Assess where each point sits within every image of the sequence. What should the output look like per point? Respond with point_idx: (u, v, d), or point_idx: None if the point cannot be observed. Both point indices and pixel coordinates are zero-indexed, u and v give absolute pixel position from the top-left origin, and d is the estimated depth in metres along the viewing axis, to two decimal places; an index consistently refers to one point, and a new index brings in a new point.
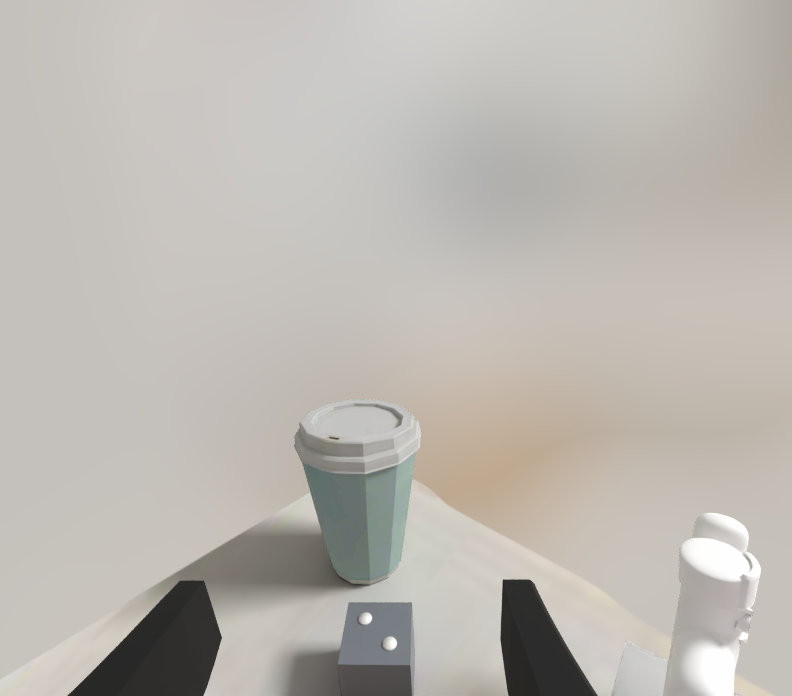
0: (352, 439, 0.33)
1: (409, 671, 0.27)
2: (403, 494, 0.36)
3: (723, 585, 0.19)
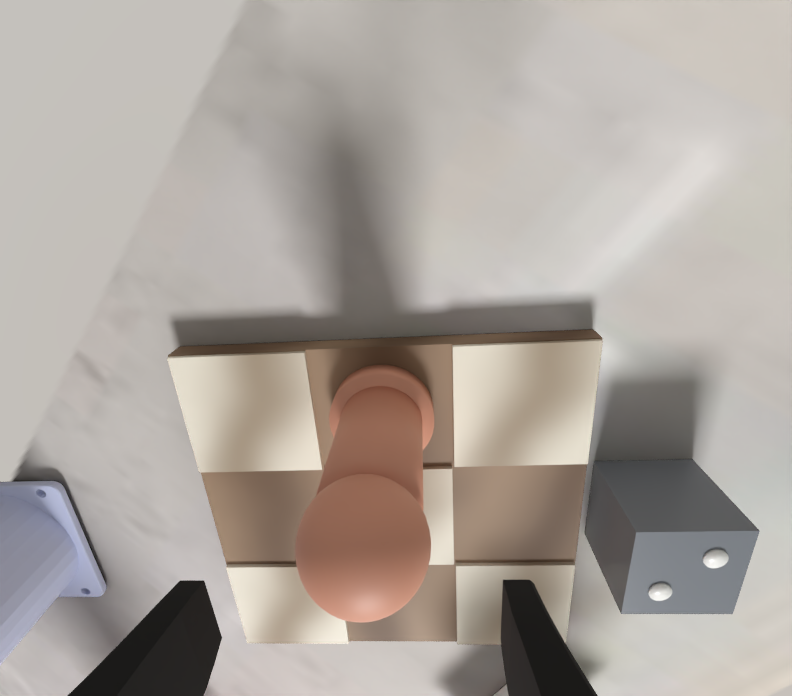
0: None
1: (616, 601, 0.19)
2: None
3: None
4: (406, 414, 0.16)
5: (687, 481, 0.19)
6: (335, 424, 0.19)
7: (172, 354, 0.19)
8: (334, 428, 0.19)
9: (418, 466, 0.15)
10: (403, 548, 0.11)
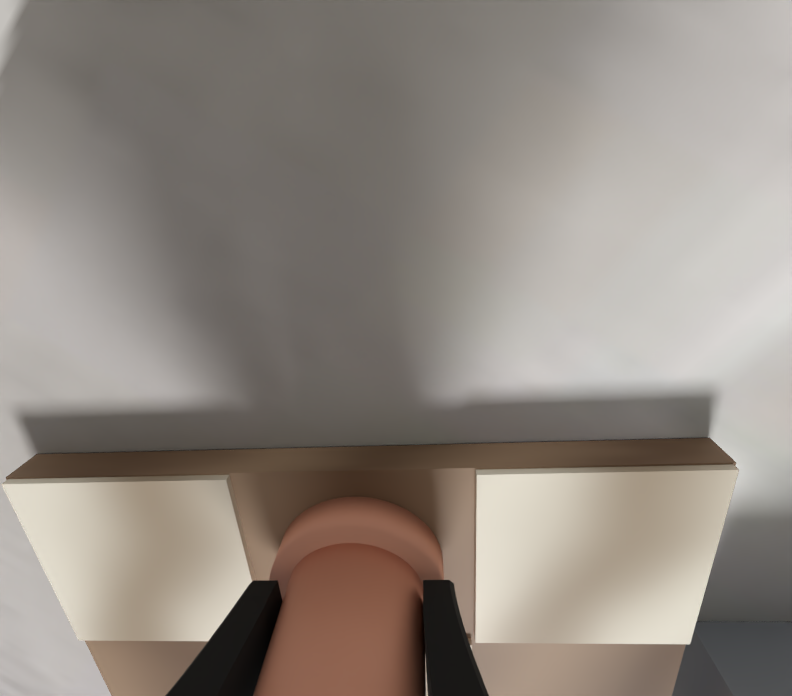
0: None
1: None
2: None
3: None
4: (396, 616, 0.09)
5: None
6: None
7: (14, 475, 0.12)
8: None
9: None
10: None
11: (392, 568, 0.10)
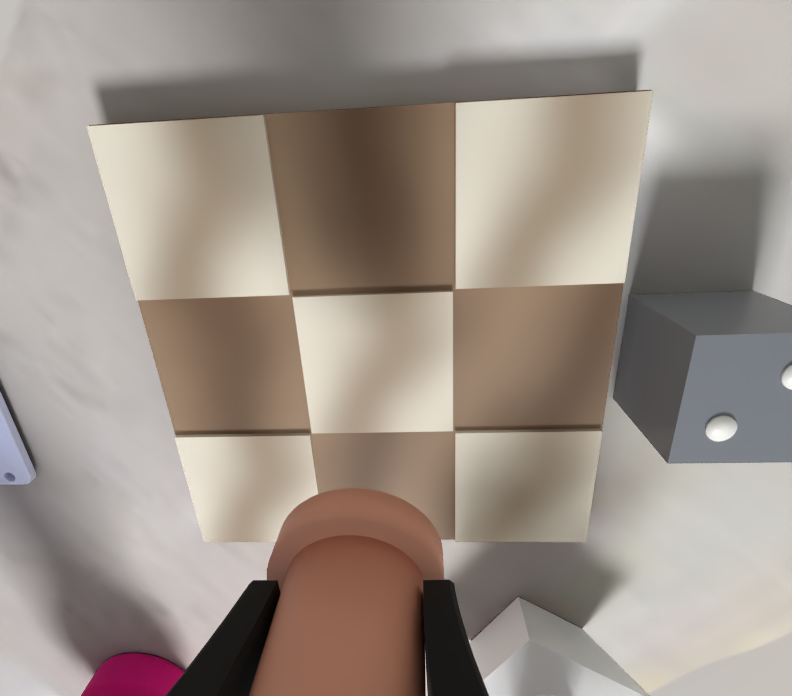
0: None
1: (660, 451, 0.15)
2: None
3: None
4: (395, 609, 0.09)
5: (752, 303, 0.15)
6: None
7: (94, 125, 0.15)
8: None
9: None
10: None
11: (391, 560, 0.10)
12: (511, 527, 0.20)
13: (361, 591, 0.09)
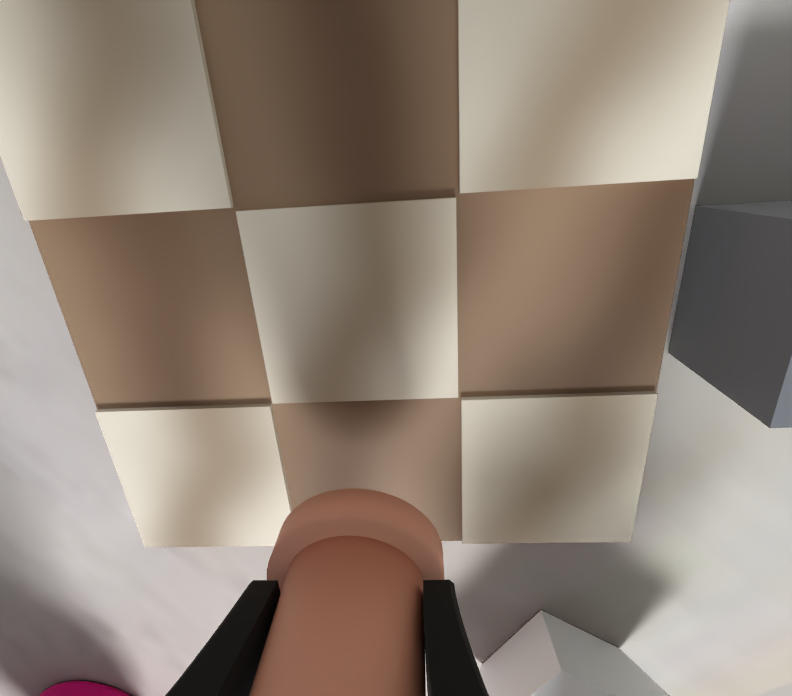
0: None
1: (754, 413, 0.10)
2: None
3: None
4: (395, 610, 0.09)
5: None
6: None
7: None
8: None
9: None
10: None
11: (391, 561, 0.10)
12: (534, 524, 0.15)
13: (361, 592, 0.09)
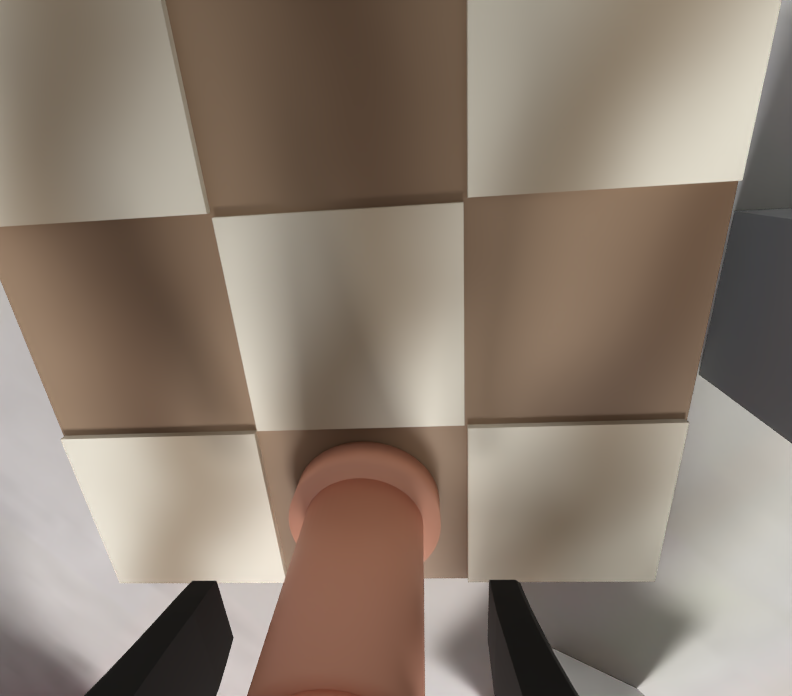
0: None
1: None
2: None
3: None
4: (399, 533, 0.11)
5: None
6: (298, 527, 0.13)
7: None
8: (296, 532, 0.13)
9: (416, 645, 0.09)
10: None
11: (395, 498, 0.12)
12: (548, 562, 0.14)
13: (371, 517, 0.11)
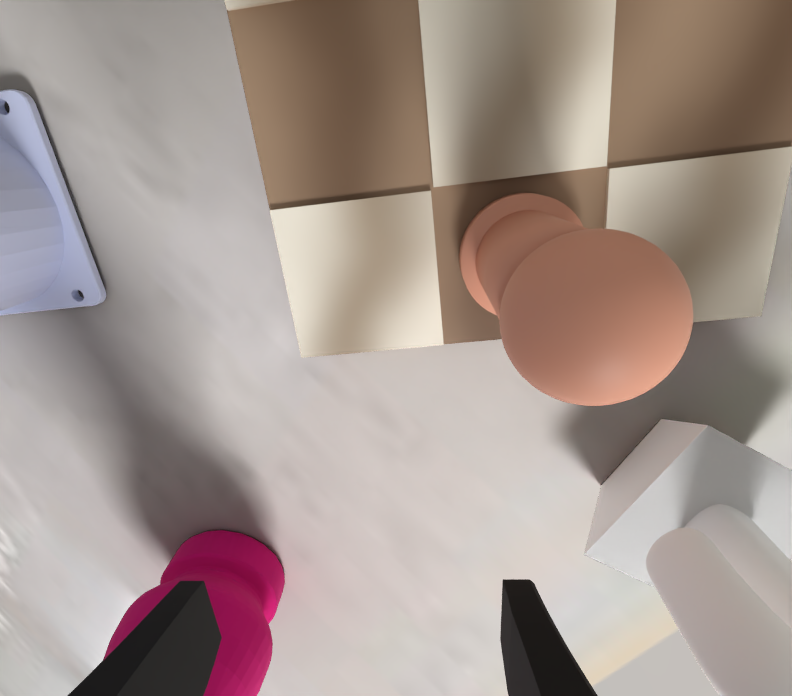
0: None
1: None
2: None
3: None
4: None
5: None
6: (468, 267, 0.16)
7: None
8: (467, 272, 0.16)
9: None
10: (679, 281, 0.08)
11: None
12: None
13: (549, 215, 0.14)
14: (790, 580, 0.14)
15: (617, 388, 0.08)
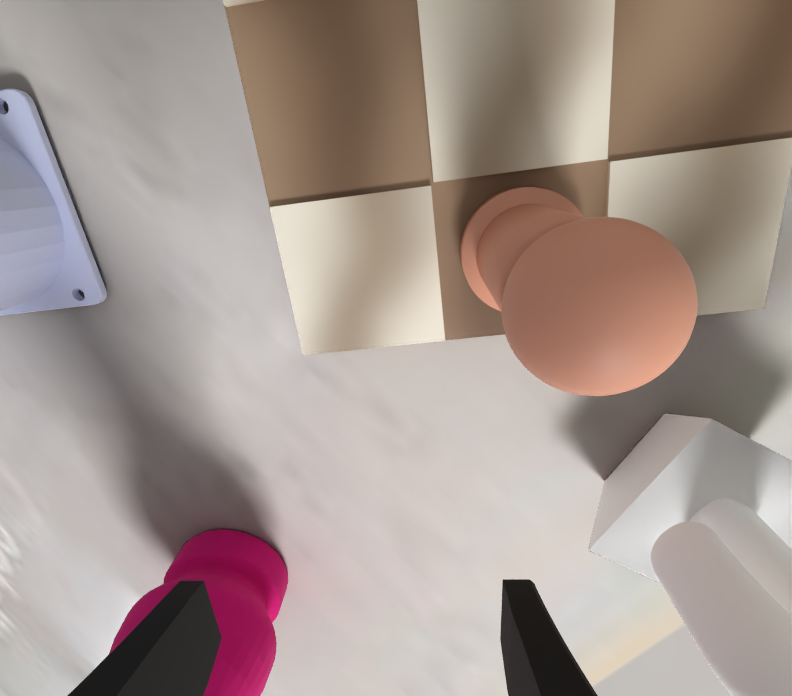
0: None
1: None
2: None
3: None
4: None
5: None
6: (469, 261, 0.16)
7: None
8: (468, 267, 0.16)
9: None
10: (683, 268, 0.08)
11: None
12: None
13: (550, 208, 0.14)
14: None
15: (622, 376, 0.08)
